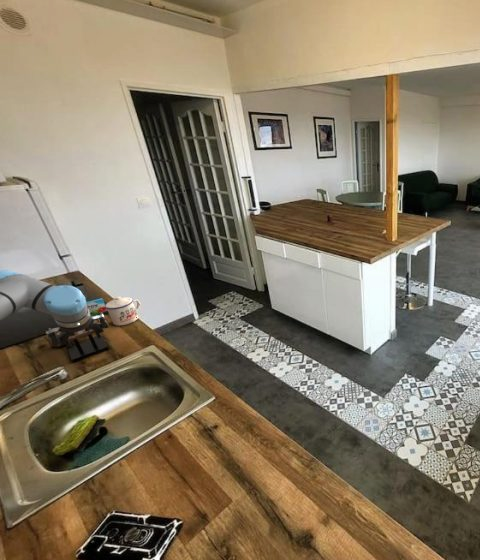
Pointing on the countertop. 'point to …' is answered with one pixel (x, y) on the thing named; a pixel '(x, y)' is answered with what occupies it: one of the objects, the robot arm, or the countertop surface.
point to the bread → (70, 335)
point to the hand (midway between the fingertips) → (83, 339)
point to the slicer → (87, 347)
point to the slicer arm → (81, 334)
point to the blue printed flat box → (96, 306)
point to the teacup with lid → (122, 310)
